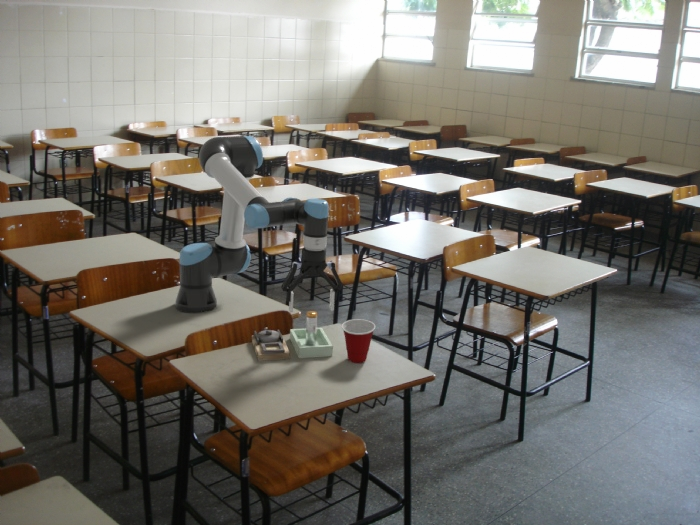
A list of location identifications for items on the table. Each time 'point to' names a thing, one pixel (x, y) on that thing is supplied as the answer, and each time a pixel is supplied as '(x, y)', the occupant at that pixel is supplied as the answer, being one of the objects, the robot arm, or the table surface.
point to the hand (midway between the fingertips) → (311, 310)
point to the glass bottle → (311, 328)
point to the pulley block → (270, 345)
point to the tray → (304, 351)
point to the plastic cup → (358, 338)
